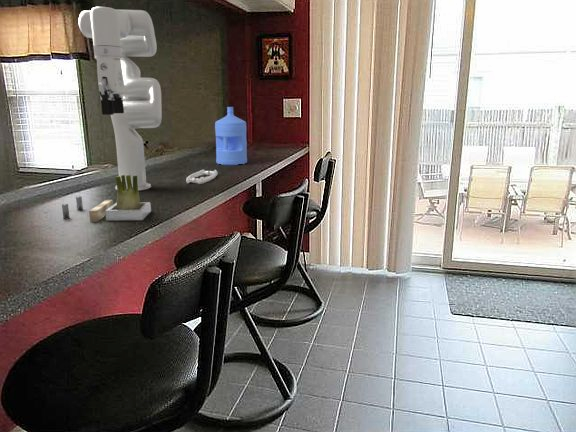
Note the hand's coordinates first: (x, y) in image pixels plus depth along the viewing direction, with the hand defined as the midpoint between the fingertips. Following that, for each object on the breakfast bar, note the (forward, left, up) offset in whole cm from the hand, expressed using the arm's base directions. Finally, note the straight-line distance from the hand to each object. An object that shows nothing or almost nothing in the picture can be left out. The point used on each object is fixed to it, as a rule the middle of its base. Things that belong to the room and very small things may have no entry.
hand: (113, 113), depth 140 cm
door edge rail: (+12, -2, -28) cm, 31 cm away
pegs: (+10, -11, -28) cm, 32 cm away
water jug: (-92, +28, -28) cm, 100 cm away
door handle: (-48, +19, -29) cm, 59 cm away
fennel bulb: (+13, +6, -29) cm, 32 cm away
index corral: (+13, +6, -28) cm, 32 cm away
